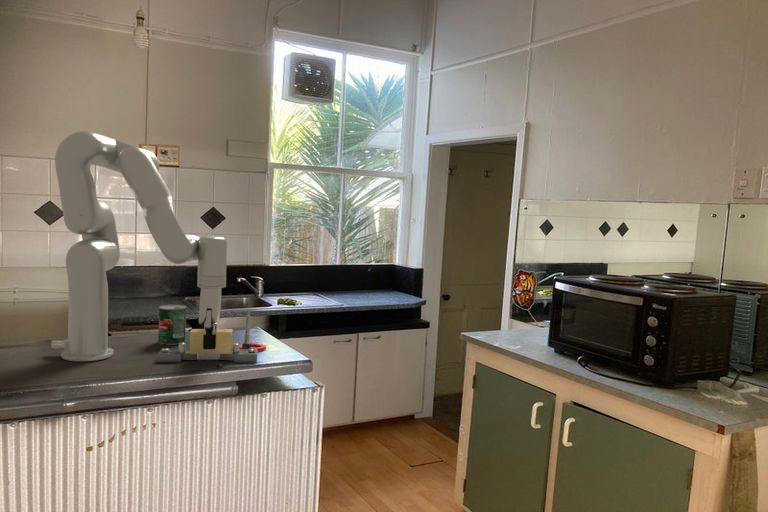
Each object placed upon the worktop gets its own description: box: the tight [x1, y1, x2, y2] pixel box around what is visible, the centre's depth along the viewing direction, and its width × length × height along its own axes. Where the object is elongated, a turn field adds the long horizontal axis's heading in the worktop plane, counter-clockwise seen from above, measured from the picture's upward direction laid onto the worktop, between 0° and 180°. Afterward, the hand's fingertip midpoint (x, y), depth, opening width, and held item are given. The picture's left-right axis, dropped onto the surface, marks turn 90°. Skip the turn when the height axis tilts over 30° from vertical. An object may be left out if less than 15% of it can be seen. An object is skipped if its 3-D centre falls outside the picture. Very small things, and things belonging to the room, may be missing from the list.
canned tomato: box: [157, 304, 187, 346], centre depth 177 cm, size 8×8×11 cm
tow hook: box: [239, 308, 267, 353], centre depth 174 cm, size 8×13×9 cm
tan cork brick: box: [189, 328, 234, 355], centre depth 160 cm, size 11×4×6 cm, turn 101°
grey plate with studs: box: [157, 342, 258, 363], centre depth 161 cm, size 26×6×4 cm, turn 101°
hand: (210, 346), depth 160 cm, fingers closed on tan cork brick, 4 cm apart
